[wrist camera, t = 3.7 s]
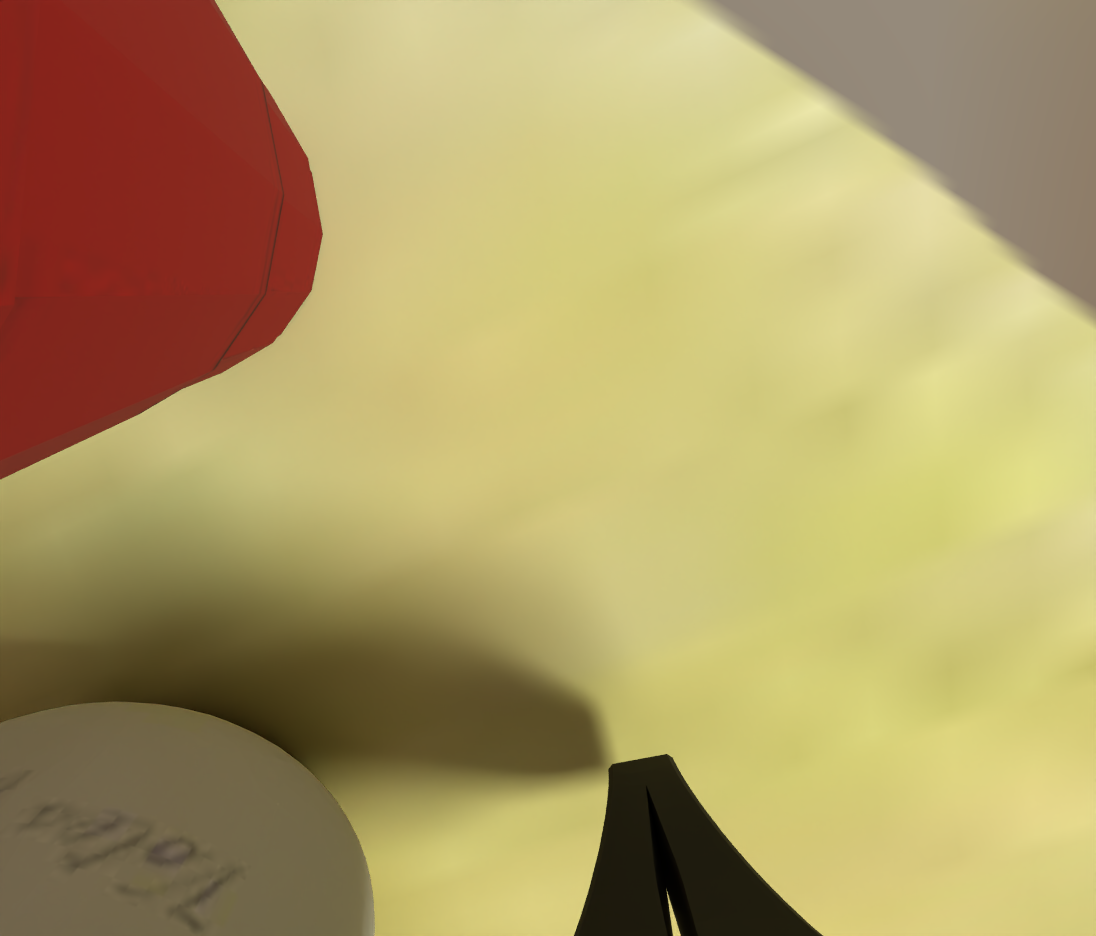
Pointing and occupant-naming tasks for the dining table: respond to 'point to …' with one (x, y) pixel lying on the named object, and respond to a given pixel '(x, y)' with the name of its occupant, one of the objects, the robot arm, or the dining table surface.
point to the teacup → (169, 830)
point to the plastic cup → (136, 214)
